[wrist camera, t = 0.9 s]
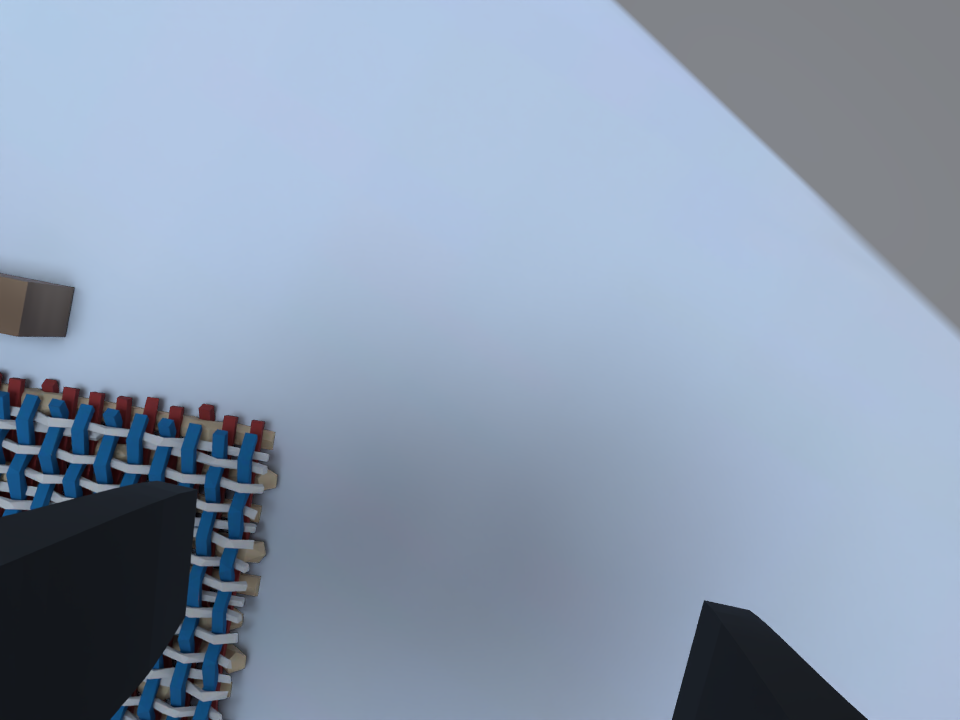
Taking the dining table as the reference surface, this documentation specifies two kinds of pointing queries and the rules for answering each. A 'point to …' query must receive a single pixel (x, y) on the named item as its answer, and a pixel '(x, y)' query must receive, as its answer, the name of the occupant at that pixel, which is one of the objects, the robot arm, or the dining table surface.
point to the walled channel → (33, 307)
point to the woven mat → (168, 458)
